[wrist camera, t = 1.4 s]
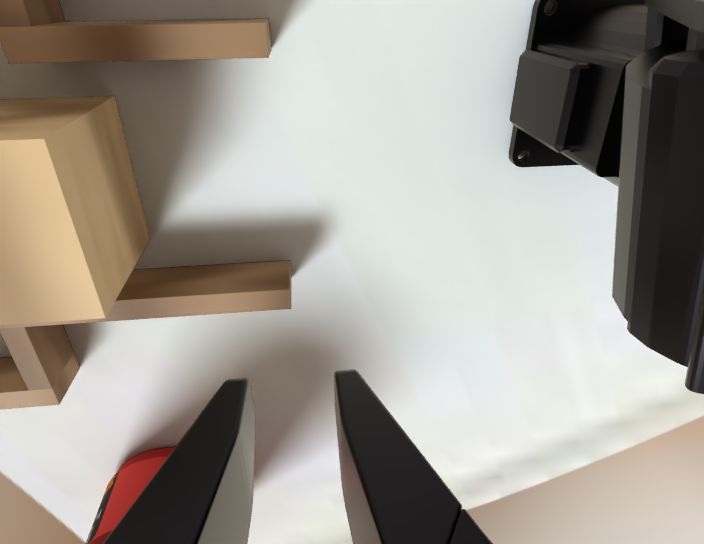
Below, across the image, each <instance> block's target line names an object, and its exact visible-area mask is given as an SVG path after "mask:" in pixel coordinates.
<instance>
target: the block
mask: <svg viewBox="0 0 704 544" xmlns="http://www.w3.org/2000/svg"><path fill="white" fill-rule="evenodd" d="M150 239H151V238H150V234H149V230H148V226H147V222H146V218H145V215H144V211H143V207H142V203H141V199H140V195H139V191H138V187H137V183H136V179H135V175H134V171H133V167H132V163H131V159H130V155H129V152H128V148H127V144H126V140H125V136H124V132H123V128H122V124H121V120H120V116H119V112H118V108H117V104H116V100H115V96H101V97H65V98H29V99H0V325H12V324H27V323H42V322H57V321H72V320H86V319H101V318H106V316H107V315H108V313H109V311H110V309H111V308H112V306H113V304H114V302H115V300H116V299H117V297H118V295H119V293H120V292H121V290H122V288H123V286H124V285H125V283H126V281H127V279H128V278H129V276H130V274H131V272H132V270H133V269H134V267H135V265H136V263H137V262H138V260H139V258H140V256H141V255H142V253H143V251H144V249H145V247H146V246H147V244H148V242H149V240H150Z"/></svg>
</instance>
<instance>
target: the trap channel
mask: <svg viewBox="0 0 704 544" xmlns="http://www.w3.org/2000/svg"><path fill="white" fill-rule="evenodd" d="M0 41H1V44H2V47H3V50H4V52H5V55H6V58H7V61H8V63H47V62H93V61H139V60H185V59H231V58H269V55H270V52H271V39H270V27H269V19H208V20H140V21H72V22H65V21H64V17H63V14H62V10H61V7H60V3H59V0H0ZM280 309H291V269H290V260H289V261H272V262H255V263H238V264H222V265H205V266H188V267H171V268H154V269H138V270H132V272H131V274H130V276H129V278H128V279H127V281H126V283H125V285H124V286H123V288H122V290H121V292H120V293H119V295H118V297H117V299H116V300H115V302H114V304H113V306H112V308H111V309H110V311H109V313H108V315H107V316H106V318H101V319H86V320H72V321H57V322H42V323H27V324H12V325H0V333H1V335H2V337H3V339H4V341H5V343H6V345H7V347H8V349H9V351H10V353H11V356H12V357H5V358H0V409H11V408H23V407H35V406H47V405H59V404H60V403H61V401H62V399H63V397H64V395H65V394H66V392H67V390H68V388H69V386H70V385H71V383H72V381H73V379H74V377H75V376H76V374H77V372H78V370H79V369H80V366H79V364H78V361H77V359H76V356H75V354H74V351H73V349H72V346H71V344H70V341H69V339H68V337H67V334H66V332H65V329H64V327H63V324H75V323H90V322H104V321H119V320H134V319H148V318H163V317H178V316H192V315H207V314H222V313H236V312H251V311H265V310H280Z"/></svg>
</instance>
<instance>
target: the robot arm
mask: <svg viewBox="0 0 704 544" xmlns="http://www.w3.org/2000/svg"><path fill="white" fill-rule="evenodd" d="M548 1H549V0H536V1H535V3H534V6H533V10H532V16H531V22H530V28H529V34H528V40H527V46H526V50H525V51H524V52H523V54H522V55H521V56H520V58H519V65H518V71H517V77H516V83H515V90H514V96H513V102H512V108H511V115H510V121H511V122H512V123H513V131H512V137H511V143H510V149H509V159H510V161H511V162H512V163H513V164H515V165H516V166H518V167H538V166H560V165H581V166H583V167H584V168H586V169H588V170H589V171H591V172H592V173H594V174H596V175H597V176H600V177H604V178H605V179H607V180H608V181H610V182H612V183H613V184H615V185H617V186H618V187H619V188H618V204H617V221H616V237H615V254H614V271H613V294H612V297H613V298H614V300H615V302H616V304H617V306H618V307H619V309H620V311H621V313H622V315H623V316H624V318H625V319H626V320H627V321H628V326H627V329H628V331H629V332H630V333H631V334H632V335H633V336H634V337H636V338H637V339H638V340H639V341H641V342H642V343H643V344H644V345H646V346H647V347H648V348H650V349H652V350H654V351H656V352H658V353H660V354H661V355H663V356H665V357H667V358H669V359H671V360H673V361H675V362H676V363H679V364H681V365H684V366H686V367H688V370H687V375H686V380H685V386H686V387H687V389H689V390H690V391H692V392H696V393H701V394H704V0H551V2H552V10H551V12H550V13H549V14H547V15H546V14H545V12H544V6H545V4H546V3H547V2H548ZM522 150H526V153H525V156H524V157H522V158H520V159H518V155H519V153H520V152H521V151H522ZM334 391H335V412H336V424H337V436H338V447H339V459H340V470H341V481H342V490H343V496H344V502H345V507H346V512H347V517H348V522H349V526H350V531H351V536H352V541H353V544H493V543H492V542H491V541H490V540H489V539H488V537H487V536H486V535H485V534H484V533H483V531H482V530H481V529H480V528H479V526H478V525H477V524H476V523H475V521H474V520H473V519H472V517H471V516H470V515H469V514H468V512H467V511H466V510H465V509H462V505H461V504H460V502H459V501H458V500H457V498H456V497H455V496H454V495H453V493H452V492H451V491H450V489H449V488H448V487H447V486H446V484H445V483H444V482H443V480H442V479H441V478H440V477H439V475H438V474H437V473H436V471H435V470H434V469H433V468H432V466H431V465H430V464H429V462H428V461H427V460H426V459H425V457H424V456H423V455H422V454H421V452H420V451H419V450H418V448H417V447H416V446H415V445H414V443H413V442H412V441H411V439H410V438H409V437H408V436H407V434H406V433H405V432H404V430H403V429H402V428H401V427H400V425H399V424H398V423H397V421H396V420H395V419H394V418H393V416H392V415H391V414H390V412H389V411H388V410H387V409H386V407H385V406H384V405H383V404H382V402H381V401H380V400H379V398H378V397H377V396H376V395H375V393H374V392H373V391H372V389H371V388H370V387H369V386H368V384H367V383H366V382H365V380H364V379H363V378H362V377H361V375H360V374H359V373H358V372H357V371H356V370H341V371H336V372H335V373H334ZM254 449H255V410H254V404H253V398H252V392H251V385H250V381H249V380H248V379H246V378H242V379H230V380H227V381H225V382H224V383H223V385H222V386H221V387H220V389H219V390H218V391H217V392H216V394H215V395H214V396H213V398H212V399H211V400H210V402H209V403H208V404H207V406H206V407H205V408H204V410H203V411H202V412H201V414H200V415H199V416H198V418H197V419H196V420H195V422H194V423H193V424H192V426H191V427H190V428H189V430H188V431H187V432H186V434H185V435H184V436H183V438H182V439H181V440H180V442H179V443H178V444H177V446H176V447H175V448H174V450H173V451H172V452H171V454H170V455H169V456H168V458H167V459H166V460H165V462H164V463H163V464H162V465H161V467H160V468H159V469H158V471H157V472H156V473H155V475H154V476H153V477H152V479H151V480H150V481H149V483H148V484H147V485H146V487H145V488H144V489H143V491H142V492H141V493H140V495H139V496H138V497H137V499H136V500H135V501H134V503H133V504H132V505H131V507H130V508H129V509H128V511H127V512H126V513H125V515H124V516H123V517H122V519H121V520H120V521H119V523H118V524H117V525H116V527H115V528H114V529H113V531H112V532H111V533H110V534H109V536H108V537H107V538H106V540H105V541H104V542H103V544H247V542H248V535H249V528H250V521H251V513H252V504H253V489H254Z"/></svg>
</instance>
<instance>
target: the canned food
mask: <svg viewBox="0 0 704 544" xmlns="http://www.w3.org/2000/svg"><path fill="white" fill-rule="evenodd" d="M174 448H175V447H170V448H160V449H155V450H150V451H147V452H144V453H141V454H139V455H137V456H135V457H133V458H131V459H129V460H128V461H127V462H126V463H125V464H123V465H122V466H121V467H120V469H119V470H118V471H117V473H116V474H115V475H114V476H113V478H112V479H111V481H110V482H109V484H108V486H107V489H106V491H105V494H104V497H103V499H102V502H101V505H100V507H99V510H98V512H97V515H96V518H95V520H94V523H93V526H92V528H91V531H90V534H89V536H88V539H87V542H86V544H103V542H104V541H105V540H106V538H107V537H108V536H109V534H110V533H111V532H112V531H113V529H114V528H115V527H116V525H117V524H118V523H119V521H120V520H121V519H122V517H123V516H124V515H125V513H126V512H127V511H128V509H129V508H130V507H131V505H132V504H133V503H134V501H135V500H136V499H137V497H138V496H139V495H140V493H141V492H142V491H143V489H144V488H145V487H146V485H147V484H148V483H149V481H150V480H151V479H152V477H153V476H154V475H155V473H156V472H157V471H158V469H159V468H160V467H161V465H162V464H163V463H164V462H165V460H166V459H167V458H168V456H169V455H170V454H171V452H172V451H173V450H174Z"/></svg>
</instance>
